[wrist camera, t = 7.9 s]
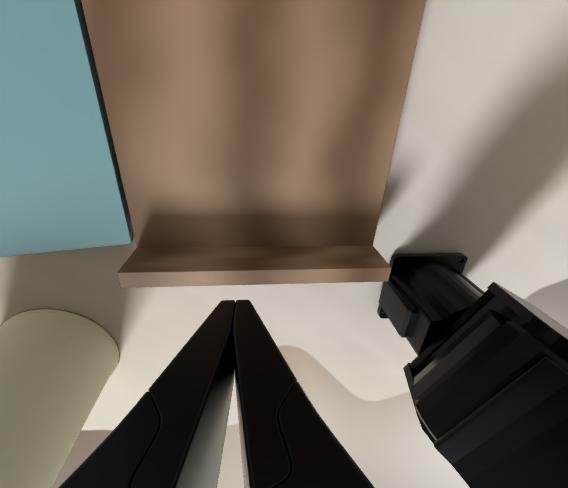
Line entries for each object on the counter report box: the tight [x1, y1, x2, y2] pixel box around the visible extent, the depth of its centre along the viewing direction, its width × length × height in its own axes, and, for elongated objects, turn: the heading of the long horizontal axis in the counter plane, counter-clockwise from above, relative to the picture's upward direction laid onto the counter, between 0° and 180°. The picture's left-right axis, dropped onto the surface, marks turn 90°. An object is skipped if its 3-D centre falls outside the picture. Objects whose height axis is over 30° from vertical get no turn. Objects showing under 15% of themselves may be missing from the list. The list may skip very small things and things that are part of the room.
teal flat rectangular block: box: [0, 0, 134, 257], centre depth 13 cm, size 2×17×8 cm
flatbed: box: [81, 0, 426, 288], centre depth 14 cm, size 16×20×5 cm
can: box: [0, 309, 119, 488], centre depth 18 cm, size 9×9×12 cm
